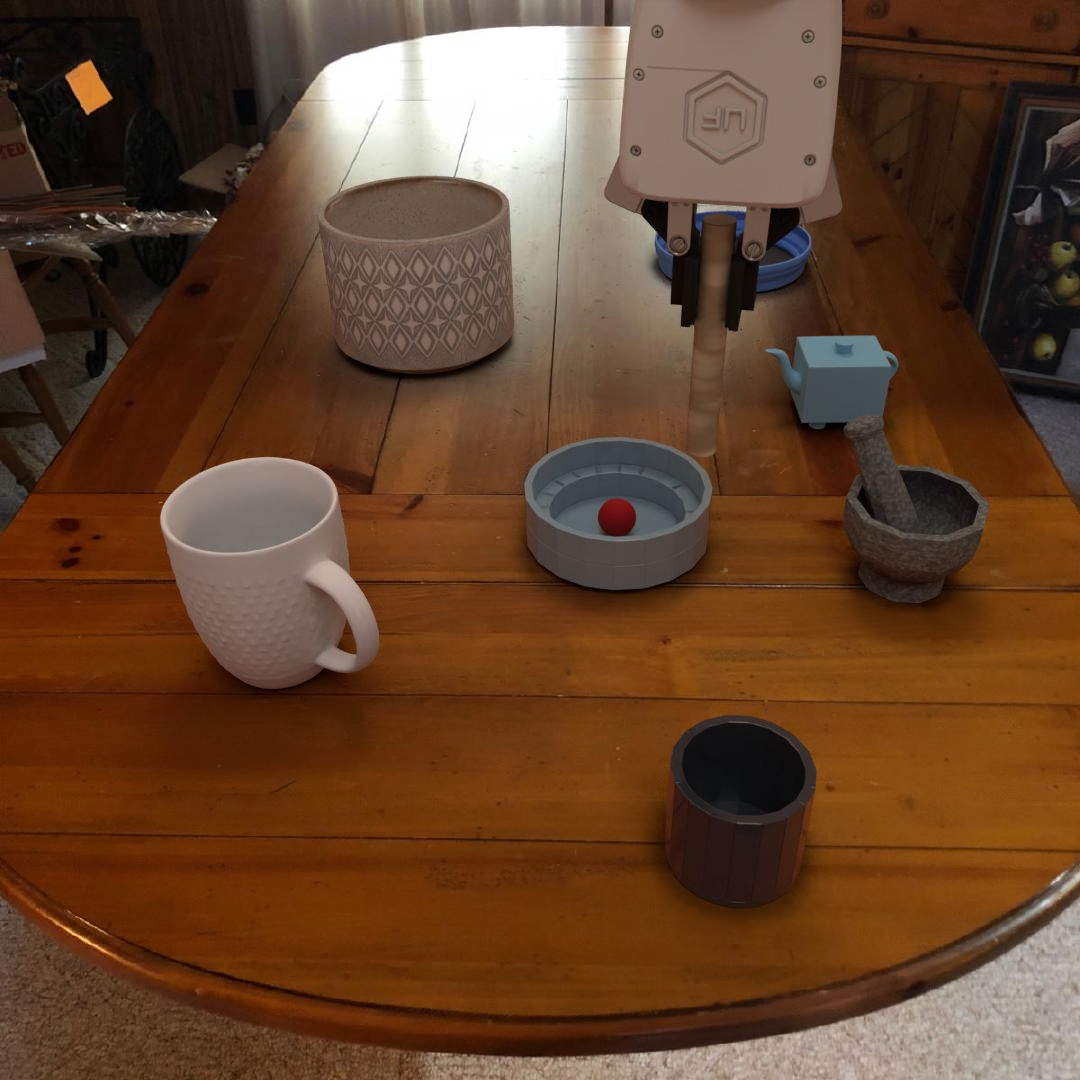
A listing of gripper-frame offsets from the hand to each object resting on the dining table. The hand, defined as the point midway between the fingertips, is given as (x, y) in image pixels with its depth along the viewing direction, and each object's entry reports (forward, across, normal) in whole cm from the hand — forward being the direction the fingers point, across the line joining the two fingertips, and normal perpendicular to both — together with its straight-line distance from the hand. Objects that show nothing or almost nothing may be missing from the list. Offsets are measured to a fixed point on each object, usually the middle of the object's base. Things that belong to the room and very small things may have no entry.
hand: (711, 316), depth 60 cm
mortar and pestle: (+26, +14, +12) cm, 32 cm away
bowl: (+26, -3, +69) cm, 74 cm away
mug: (+26, -26, -6) cm, 37 cm away
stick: (+9, 0, 0) cm, 9 cm away
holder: (+25, +5, -15) cm, 30 cm away
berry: (+23, -7, +13) cm, 28 cm away
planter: (+26, -32, +43) cm, 60 cm away
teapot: (+26, +9, +36) cm, 45 cm away
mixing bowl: (+25, -7, +13) cm, 29 cm away
